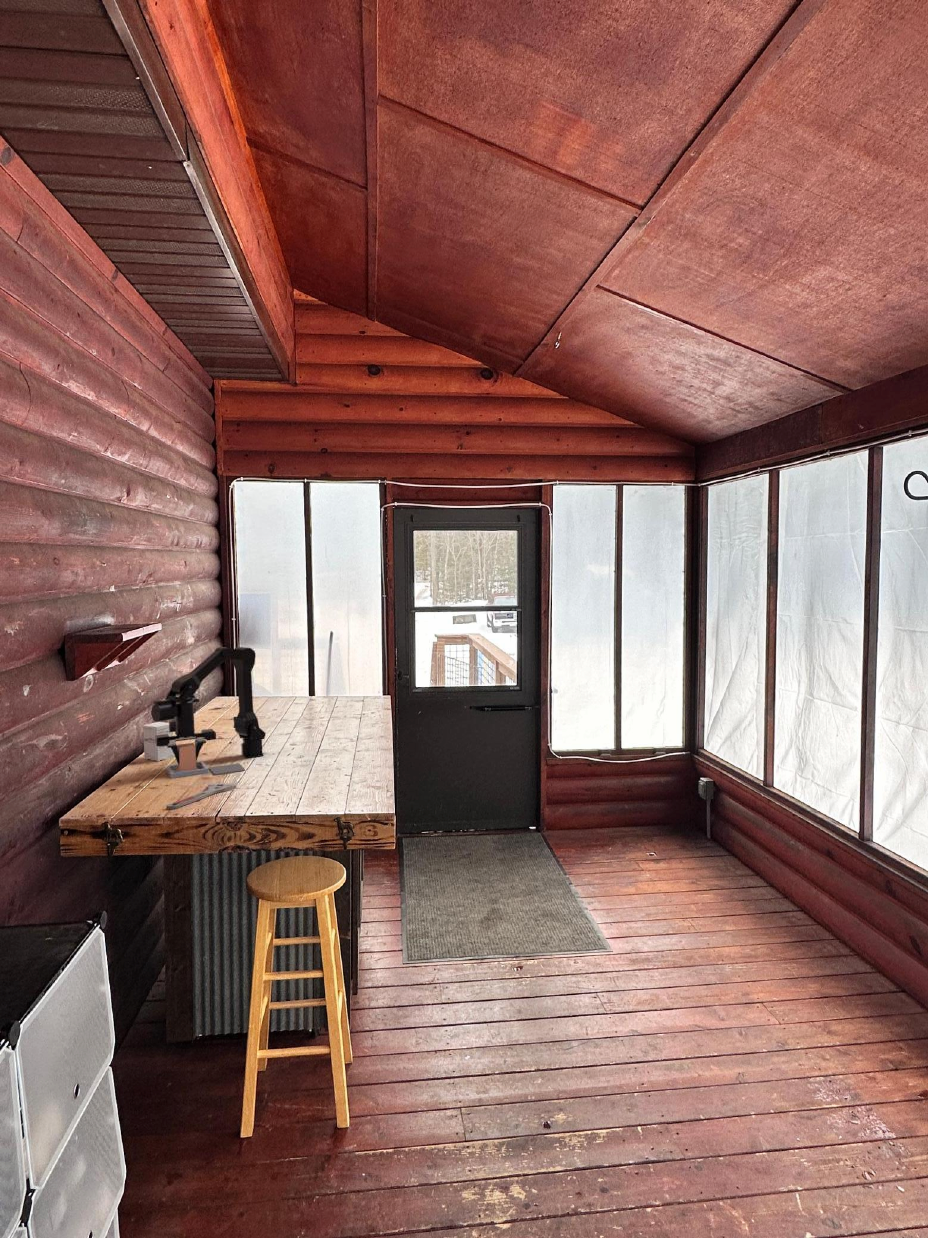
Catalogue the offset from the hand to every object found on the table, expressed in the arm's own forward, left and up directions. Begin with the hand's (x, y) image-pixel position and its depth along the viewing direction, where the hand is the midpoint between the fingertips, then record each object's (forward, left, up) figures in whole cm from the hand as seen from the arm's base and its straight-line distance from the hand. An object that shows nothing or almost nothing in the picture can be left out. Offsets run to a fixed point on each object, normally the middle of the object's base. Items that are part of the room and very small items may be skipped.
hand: (187, 762), depth 246 cm
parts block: (0, 0, -3) cm, 3 cm away
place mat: (-12, +5, -3) cm, 13 cm away
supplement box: (+6, -25, -3) cm, 26 cm away
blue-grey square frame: (0, 0, -3) cm, 3 cm away
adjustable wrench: (0, +32, -4) cm, 32 cm away
